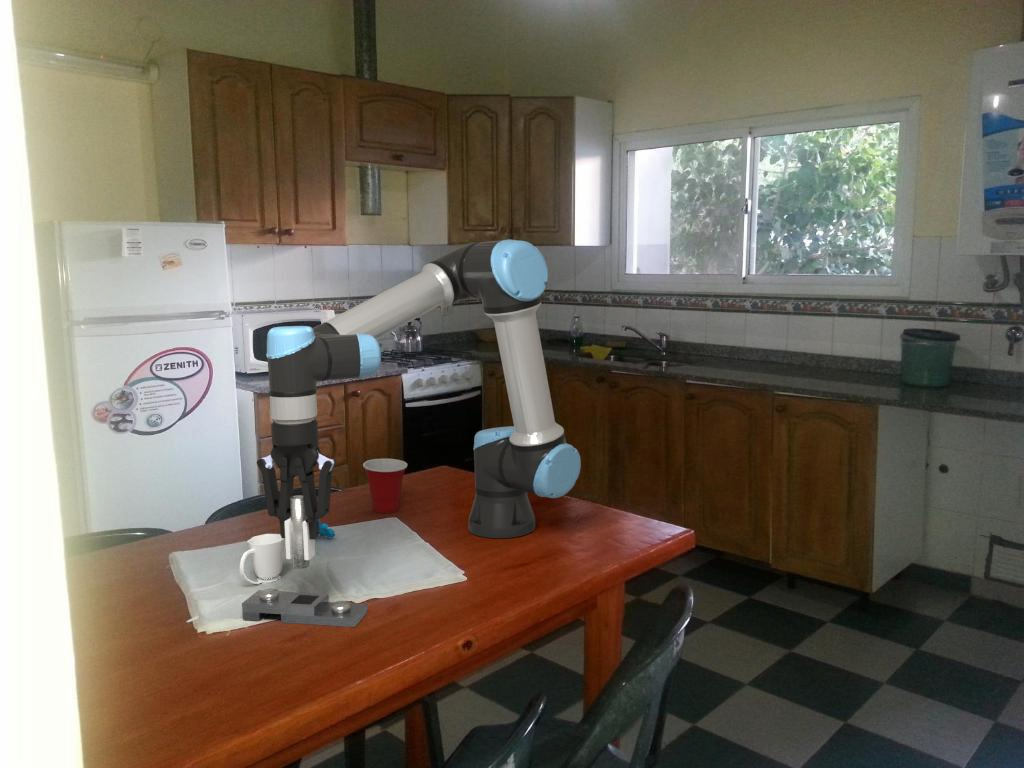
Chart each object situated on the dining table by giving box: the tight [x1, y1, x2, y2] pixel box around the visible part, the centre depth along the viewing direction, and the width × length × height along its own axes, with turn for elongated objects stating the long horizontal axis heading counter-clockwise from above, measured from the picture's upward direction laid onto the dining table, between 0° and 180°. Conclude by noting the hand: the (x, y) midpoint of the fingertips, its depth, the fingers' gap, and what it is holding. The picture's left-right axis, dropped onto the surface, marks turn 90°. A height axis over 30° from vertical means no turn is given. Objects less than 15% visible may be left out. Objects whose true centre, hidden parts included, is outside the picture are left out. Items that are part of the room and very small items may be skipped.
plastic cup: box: [362, 458, 408, 514], centre depth 204 cm, size 11×11×12 cm
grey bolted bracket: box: [241, 588, 368, 628], centre depth 142 cm, size 20×6×4 cm, turn 80°
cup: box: [239, 533, 286, 585], centre depth 158 cm, size 7×10×8 cm
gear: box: [319, 519, 336, 539], centre depth 181 cm, size 11×6×10 cm
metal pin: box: [290, 494, 310, 570], centre depth 140 cm, size 3×3×12 cm
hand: (300, 556), depth 141 cm, fingers closed on metal pin, 2 cm apart
